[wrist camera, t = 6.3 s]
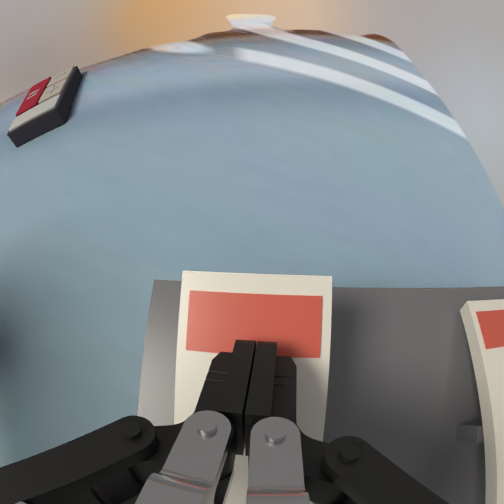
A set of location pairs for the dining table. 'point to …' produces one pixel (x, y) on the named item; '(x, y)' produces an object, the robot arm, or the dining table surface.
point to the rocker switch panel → (373, 379)
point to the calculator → (45, 106)
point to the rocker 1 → (256, 329)
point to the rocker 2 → (489, 384)
